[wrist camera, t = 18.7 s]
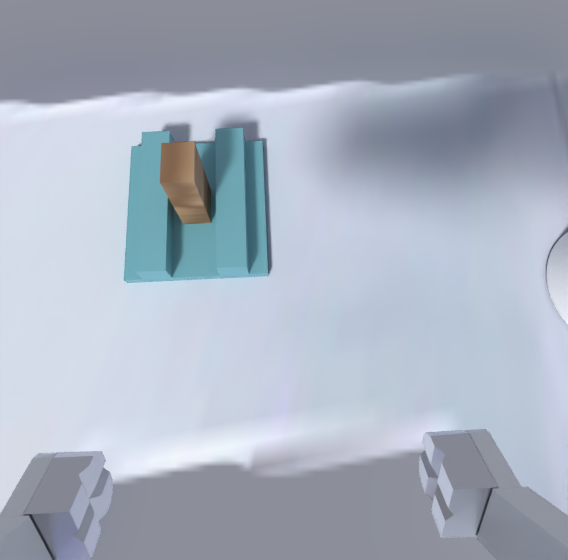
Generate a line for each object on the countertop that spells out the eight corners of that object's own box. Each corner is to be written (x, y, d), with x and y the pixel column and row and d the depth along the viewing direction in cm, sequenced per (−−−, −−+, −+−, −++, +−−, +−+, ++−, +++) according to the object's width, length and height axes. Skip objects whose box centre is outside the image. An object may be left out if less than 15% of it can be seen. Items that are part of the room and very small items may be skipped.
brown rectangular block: (211, 189, 47) (194, 141, 38) (211, 223, 45) (194, 181, 37) (184, 191, 47) (161, 143, 38) (183, 224, 45) (159, 182, 37)
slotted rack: (262, 145, 49) (261, 126, 46) (268, 275, 45) (267, 265, 42) (134, 151, 49) (123, 132, 46) (127, 282, 45) (114, 272, 41)
